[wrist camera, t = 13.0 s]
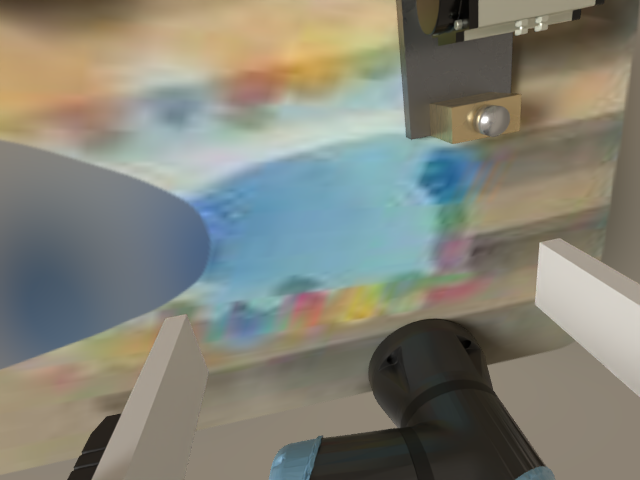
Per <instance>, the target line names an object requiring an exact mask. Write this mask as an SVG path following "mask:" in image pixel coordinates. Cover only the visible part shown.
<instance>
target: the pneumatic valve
mask: <svg viewBox="0 0 640 480" xmlns="http://www.w3.org/2000/svg"><path fill="white" fill-rule="evenodd" d="M416 2H417V14H418V19H419V23H420V26H421V29H422V30H423V32H424V33H425V34H426V35H432V38H437V37H438V46H441V45H447V44H452V43H458V42H463V41H468V40H473V39H479V38H484V37H489V36H494V35H500V34H505V33H510V32H515V36H516V35H521V34H527V33H528V29H531V28H535V30H534V31H535V32H537V31H542V30H547V29H548V25H552V24H557V23H562V22H567V21H573V20H578V19H580V15H581V9H583V8H587V7H592V6H596V5H601V4H604V0H416Z"/></svg>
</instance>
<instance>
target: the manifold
mask: <svg viewBox="0 0 640 480" xmlns="http://www.w3.org/2000/svg"><path fill="white" fill-rule="evenodd" d="M396 5H397V18H398V32H399V45H400V59H401V72H402V86H403V99H404V112H405V126H406V137H407V138H409V139H416V138H421V137H426V136H433V137H436V138H438V139H441V140H444V141H446V142H449V143H451V144H455V143H460V142H465V141H470V140H476V139H481V138H486V137H495V136H498V135H501V134H506V133H511V132H517V131H520V115H521V94H511V70H512V42H513V32H510V33H505V34H500V35H494V36H489V37H484V38H479V39H473V40H468V41H463V42H458V43H452V44H447V45H441V46H438V37H437V38H432V35H426V34H425V33H424V32H423V30H422V29H421V26H420V23H419V19H418V14H417V2H416V0H396Z"/></svg>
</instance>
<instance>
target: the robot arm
mask: <svg viewBox="0 0 640 480" xmlns="http://www.w3.org/2000/svg"><path fill="white" fill-rule="evenodd" d="M535 305H536V306H537V307H539V308H540V309H541V310H542V311H543V312H544V313H545V314H546V315H548V316H549V317H550V318H551V319H552V320H553V321H554V322H555V323H557V324H558V325H559V326H560V327H561V328H562V329H563V330H564V331H566V332H567V333H568V334H569V335H570V336H571V337H572V338H574V339H575V340H576V341H577V342H578V343H580V345H581V346H583V347H584V348H585V349H586V350H587V351H588V352H589V353H590V354H592V355H593V356H594V357H595V358H596V359H597V360H598V361H599V362H601V363H602V364H603V365H604V366H605V367H606V368H607V369H609V370H610V371H611V372H612V373H613V374H614V375H615V376H616V377H618V378H619V379H620V380H621V381H622V382H623V383H624V384H625V385H627V386H628V387H629V388H630V389H631V390H632V391H633V392H635V393H636V394H637V395H638V396H639V397H640V284H639V283H637V282H635V281H633V280H632V279H630V278H628V277H626V276H624V275H623V274H621V273H619V272H618V271H616V270H614V269H612V268H611V267H609V266H607V265H605V264H604V263H602V262H600V261H599V260H597V259H595V258H593V257H592V256H590V255H588V254H586V253H585V252H583V251H581V250H579V249H578V248H576V247H574V246H572V245H571V244H569V243H567V242H565V241H564V240H562V239H560V238H559V239H554V240H549V241H544V242H540V246H539V259H538V271H537V284H536V297H535ZM208 374H209V371H208V368H207V366H206V363H205V361H204V358H203V355H202V353H201V350H200V347H199V345H198V342H197V340H196V337H195V334H194V332H193V329H192V327H191V324H190V321H189V319H188V316H187V314H185V315H180V316H175V317H170V318H165V321H164V323H163V325H162V327H161V329H160V332H159V334H158V336H157V338H156V340H155V342H154V345H153V347H152V349H151V351H150V353H149V356H148V358H147V360H146V362H145V364H144V366H143V369H142V371H141V373H140V375H139V377H138V380H137V382H136V384H135V386H134V388H133V390H132V393H131V395H130V397H129V399H128V401H127V404H126V406H125V408H124V410H123V412H122V413H121V414H117V415H112V416H107V417H106V418H105V419H104V420H103V421H102V422H101V423H100V424H99V426H98V427H97V428H96V429H95V430H94V431H93V432H92V433H91V435H90V437H89V439H88V441H87V443H86V445H85V447H84V449H83V451H82V455H81V456H79V458H78V460H77V462H76V464H75V466H74V471H72V472H71V474H70V476H69V478H68V479H67V480H184V478H185V474H186V469H187V465H188V461H189V456H190V452H191V448H192V443H193V439H194V435H195V430H196V426H197V422H198V417H199V413H200V409H201V404H202V400H203V395H204V391H205V387H206V382H207V378H208ZM369 381H370V384H371V388H372V391H373V394H374V396H375V399H376V400H377V402H378V404H379V405H380V406H381V408H382V409H383V410H384V411H385V413H386V414H387V415H388V416H389V418H391V420H392V421H393V423H394V424H395V425H396V426H397V427H398V428H396V429H395V428H394V429H387V430H380V431H373V432H366V433H358V434H351V435H345V436H336V437H328V438H323V436H318V437H317V438H316V439H312V440H307V441H301V442H297V443H291V444H288V445H286V446H284V447H283V448H282V449H280V450H279V452H278V453H277V454H276V456H275V459H274V461H273V464H272V467H271V472H270V477H269V480H555V478H554V474H553V473H552V471H551V470H550V469H549V468H547V467H546V465H545V464H544V462H543V461H542V460H541V458H540V457H539V455H538V454H537V453H536V451H535V450H534V448H533V447H532V445H531V444H530V442H529V441H528V440H527V438H526V437H525V435H524V434H523V432H522V431H521V430H520V428H519V427H518V425H517V424H516V422H515V421H514V420H513V418H512V417H511V415H510V414H509V413H508V411H507V410H506V408H505V407H504V405H503V404H502V402H501V401H500V400H499V398H498V397H497V395H496V394H495V392H494V391H493V388H492V383H491V379H490V375H489V371H488V368H487V364H486V360H485V356H484V353H483V351H482V349H481V347H480V346H479V344H478V343H477V342H476V340H475V339H474V338H473V336H472V335H471V334H470V333H469V332H468V331H467V330H466V329H465V328H463V327H462V326H460V325H458V324H456V323H453V322H450V321H446V320H434V319H433V320H423V321H418V322H414V323H411V324H409V325H406V326H404V327H402V328H400V329H398V330H396V331H395V332H393V333H392V334H391V335H389V336H388V337H387V338H386V339H385V340H384V341H383V342H382V343H381V344H380V345H379V346H378V348H377V349H376V351H375V352H374V354H373V356H372V358H371V361H370V365H369Z"/></svg>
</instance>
